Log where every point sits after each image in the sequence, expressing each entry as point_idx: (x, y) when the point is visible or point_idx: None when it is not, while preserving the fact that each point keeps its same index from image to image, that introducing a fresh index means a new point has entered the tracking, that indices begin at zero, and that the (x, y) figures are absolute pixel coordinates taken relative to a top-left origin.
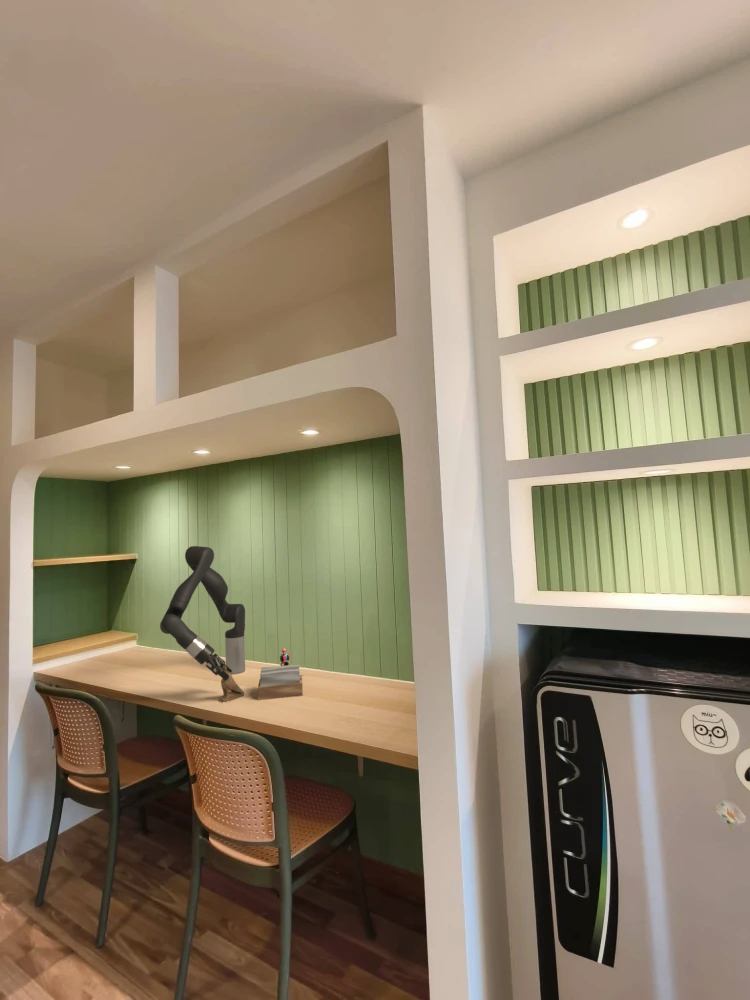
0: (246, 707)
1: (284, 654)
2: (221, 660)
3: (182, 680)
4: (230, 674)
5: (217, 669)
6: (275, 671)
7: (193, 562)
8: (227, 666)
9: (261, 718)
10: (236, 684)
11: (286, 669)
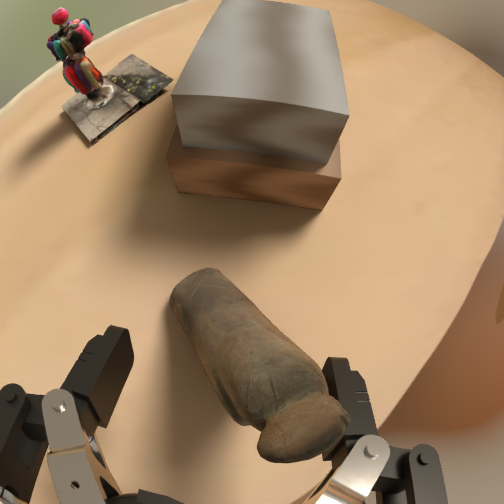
0: (399, 267)
1: (66, 28)
2: (75, 473)
3: None
4: (294, 347)
5: (436, 479)
6: (311, 52)
7: None
8: (87, 372)
9: (487, 223)
10: (246, 303)
11: (290, 24)
